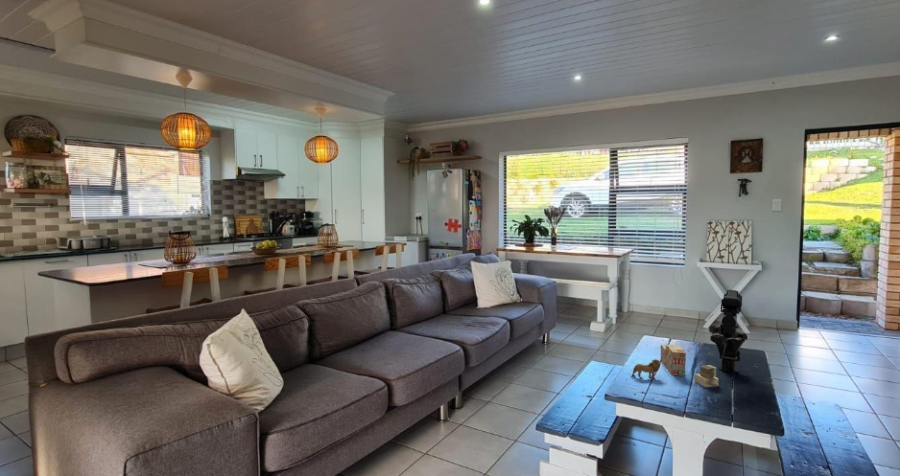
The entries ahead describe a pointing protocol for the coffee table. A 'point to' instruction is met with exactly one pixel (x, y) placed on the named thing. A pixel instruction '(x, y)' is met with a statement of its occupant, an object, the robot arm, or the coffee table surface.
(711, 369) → the walnut block
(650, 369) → the lion figurine
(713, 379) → the oak block
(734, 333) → the robot arm
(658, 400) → the coffee table surface
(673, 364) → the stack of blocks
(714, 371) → the sage block
